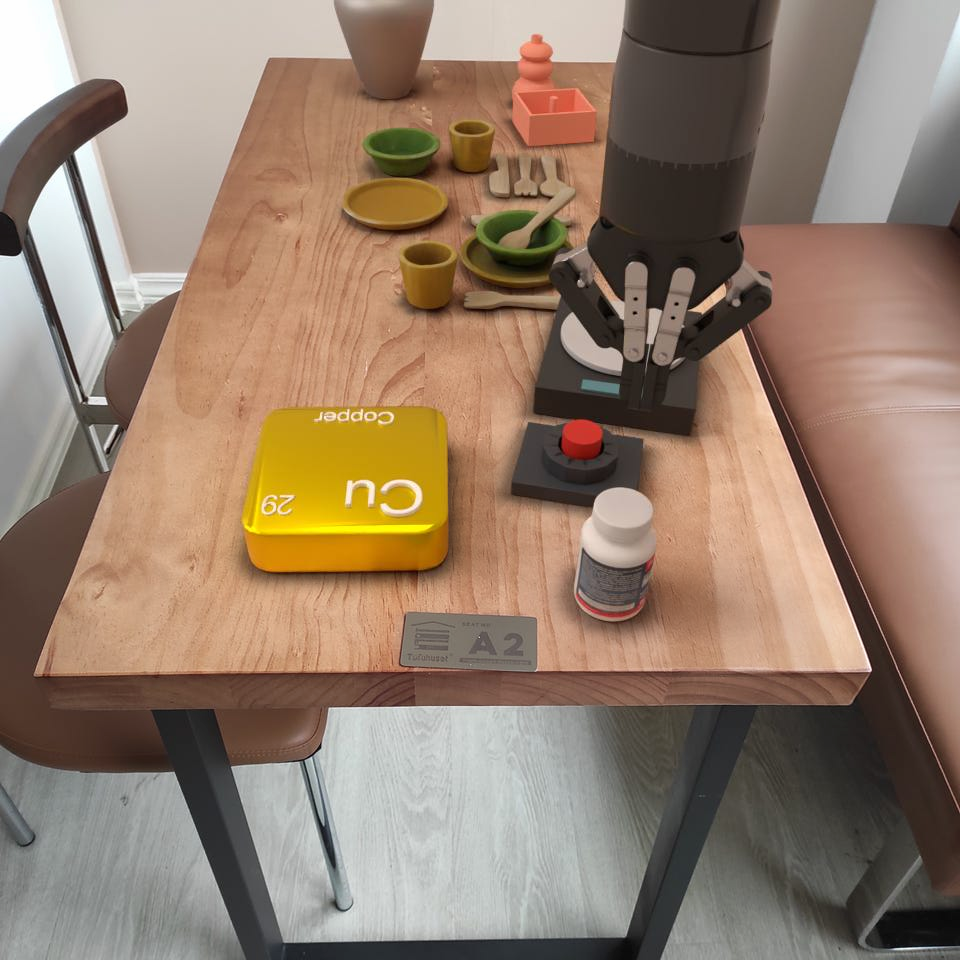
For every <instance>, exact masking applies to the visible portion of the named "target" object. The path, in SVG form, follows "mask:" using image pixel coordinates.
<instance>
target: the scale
mask: <svg viewBox="0 0 960 960" xmlns="http://www.w3.org/2000/svg"><path fill="white" fill-rule="evenodd" d="M559 297H560V301H559V304H558V308H557V310H556V311H555V314H554V319H553V322H552V325H551V329H550V333H549V336H548V340H547V343H546V347H545V351H544V354H543V357H542V361H541V364H540V368H539V372H538V375H537V378H536V382H535V385H534V395H533V409H532V413H533V414H536V415H544V416H549V417H557V418H563V419H571V420H588V421H592V422H594V423H598V424H606V425H612V426H619V427H626V428H631V429H632V428H633V429H639V430H640V429H641V430H648V431H654V432H661V433H668V434H673V435H674V434H675V435H681V436H682V435H683V436H689V437H690V436H691V433H692V430H693V429H692V428H693V425H694V419H695V415H696V411H697V396H698V382H699V381H698V380H699V369H700V367H699V366H700V360H698V361H692V360H689V359H688V358H687V357H684V358H679V359H677V360H675V361H674V362H673V363H672V364H671V366H670V372H669V378H668V383H667V389H666V395H665V399H664V401H663V402H662V403H661V405H659V404H652V409H651V412H649V411H642V410H640V407H639V410H634V409H628V404H629V400H624V399H621V397H620V394H619V387H620V379H621V371H622V364H623V357H622V355H621V353H620V352H619V351H618V350H616V349H614V348H612V347H610V348H600V347H599V346H597V345H596V343H595V342H594V341H593V339H592V338H591V336H590V335H589V334H588V332H587V331H586V330H585V328H584V327H583V325H582V324H581V323H580V321H579V320H578V319H577V317H576V316H575V315H574V313H573V312H572V310H571V309H570V308H569V306H568V305H567V304H566V302H565V301H564V299H563V298H562V297H561V296H559ZM609 302H610V303H611V304H612V306H613V307H614V309H615V310H616V312H617V313H618V314H619V317H620V319H623V320H624V306H625V303H624V302H622V301H621V300H609ZM661 312H662V311H661V310H659V309H656V308H653V309H650V310H649V327H648V336H647V344H649V350H650V344H653V343H654V338H655V335H656V332H657V328H658V324H659V320H660V316H661ZM702 314H703V312H700V311H695V310H694V311H693V310H687V311H686V314H685V318H684V321H683V325H682V328H683V327H688V326H689V325H690V324H691V323H692V322H693V321H695V320H696V319H697V318H698V317H700V316H701V315H702ZM649 350H648V355H649ZM647 361H648V357H647ZM646 367H647V364H646ZM645 373H646V370H645ZM644 380H645V377H644ZM643 387H644V384H643ZM642 393H643V390H642ZM641 400H642V396H641ZM640 406H641V402H640Z"/></svg>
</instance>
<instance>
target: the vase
mask: <svg viewBox="0 0 960 960" xmlns="http://www.w3.org/2000/svg"><path fill="white" fill-rule="evenodd" d="M333 6H334V7H333V8H334V11H335V15H336V18H337V21H338V23H339V24H338V25H339V26H340V29H341V33H342V35H343V38H344V40H345V44H346V47H347V50H348V51H349V54H350V57H351V60H352V63H353V65H354V67H355V69H356V72H357V74H358V76H359V78H360V80H361V83H362V85H363V87H364V89H365V92H366V94H367V95H369V96H370V97H371V98H375V99H380V100H397V99H400V98H403V97H406V96H408V95H409V93H410V92H411V89H412V86H413V83H414V81H415V78H416V76H417V73H418V70H419V67H420V64H421V61H422V57H423V54H424V50H425V46H426V42H427V38H428V34H429V31H430V27H431V23H432V20H433V14H434V9H435V0H333Z"/></svg>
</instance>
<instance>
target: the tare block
mask: <svg viewBox="0 0 960 960" xmlns="http://www.w3.org/2000/svg"><path fill="white" fill-rule="evenodd" d="M567 423H568V422H564V423H558V424H556V425H552V424H546V423H545V424H544V423H539V422H531V421H528V422H527V425H526V429H525V432H524V436H523V440H522V443H521V446H520V450H519V453H518V457H517V461H516V465H515V468H514V471H513V475H512V479H511V483H510V494H511V495H514V496H521V497H527V498H531V499H532V498H534V499H538V500H544V501H545V500H546V501H552V502H557V503H565V504H571V505H577V506H583V507H590V508H593V506H594V502H595V499H596V498H597V496H598V495H599V494H600V493H602V492H603V491H605V490H608V489H611V488H629V489H633V490H636V491H638V489H639V482H640V481H639V480H640V473H641V472H640V471H641V464H642V456H643V448H644V441H645V440H644V438H640V437H634V436H627V435H620V434H614V433H612V432H611V430H608V429H606V428H605V427H602V426H601V425H599V426H600V428H601V429H602V432H603V436H602V443H601V450H600V453H599V455H598V456H597V457H595V458H593V459H589V460H579V459H572V458H571V457H569V456H567V455H565V454H564V452H563V451H562V448H561V445H562V435H563V428H564V426H565V425H566V424H567Z"/></svg>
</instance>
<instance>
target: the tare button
mask: <svg viewBox="0 0 960 960" xmlns="http://www.w3.org/2000/svg"><path fill="white" fill-rule="evenodd" d="M566 423H567V424H566V425H565V426H564V428H563V435H562V445H561V448H562V451H563V452H564V454H565V455H567V456H569V457H571V458H572V459H579V460H589V459H593V458H595V457H597V456H598V455H599V453H600V450H601V443H602V436H603V432H602V429H601V428H600V426H601V425H598V424H597V422H592V421H588V420H577V419H572V420H571V421H569V422H566Z"/></svg>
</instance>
